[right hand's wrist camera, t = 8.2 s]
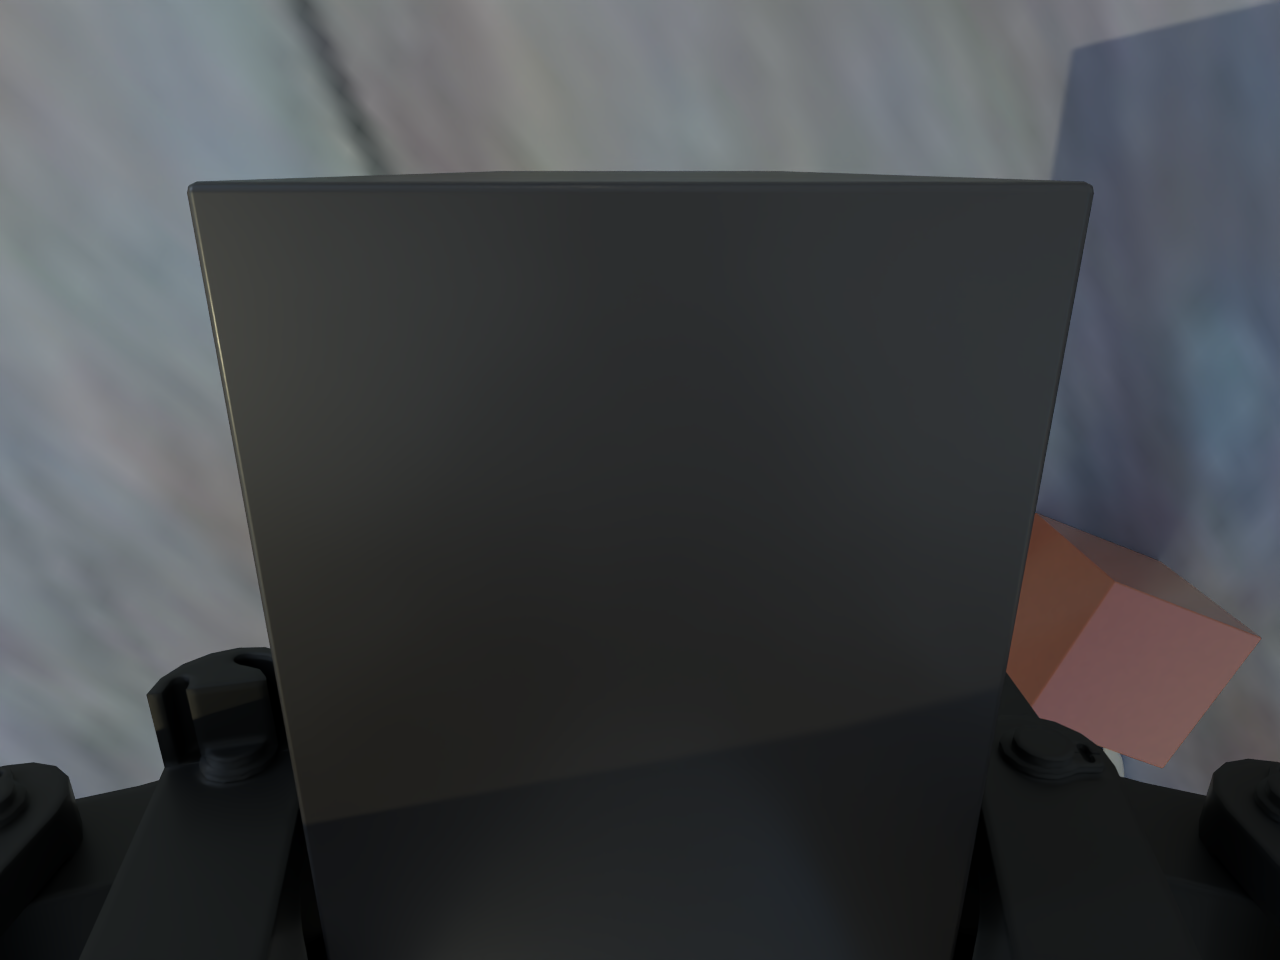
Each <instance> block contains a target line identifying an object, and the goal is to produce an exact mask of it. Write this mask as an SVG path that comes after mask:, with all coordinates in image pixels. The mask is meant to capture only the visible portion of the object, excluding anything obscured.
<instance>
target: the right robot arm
mask: <svg viewBox="0 0 1280 960" xmlns="http://www.w3.org/2000/svg"><path fill="white" fill-rule="evenodd" d="M147 699H148V703H149V707H150V711H151V715H152V719H153V723H154V727H155V731H156V735H157V739H158V743H159V747H160V751H161V755H162V759H163V763H164V767H165V768H164V770H163V773H162V775H161V777H160V779H159V780H158V781H155V782H151V783H148V784H144V785H140V786H136V787H131V788H127V789H122V790H117V791H113V792H108V793H103V794H98V795H94V796H89V797H84V798H79V799H75V797H74V793H73V790H72V787H71V783H70V780H69V777H68V776H67V775H66V774H65V773H64V772H62V771H61V770H60V769H59V768H58V767H56V766H52V765H46V764H40V763H34V762H33V763H24V764H15V765H6V766H1V767H0V960H327V955H326V949H325V944H324V938H323V933H322V927H321V922H320V916H319V911H318V906H317V900H316V895H315V889H314V884H313V878H312V873H311V867H310V862H309V856H308V851H307V845H306V840H305V834H304V829H303V823H302V818H301V813H300V807H299V802H298V796H297V791H296V785H295V780H294V774H293V769H292V763H291V758H290V752H289V747H288V741H287V736H286V730H285V725H284V720H283V714H282V709H281V703H280V698H279V692H278V687H277V681H276V676H275V670H274V665H273V659H272V654H271V649H270V648H266V647H255V648H236V649H231V650H226V651H221V652H216V653H211V654H208V655H206V656H203V657H201V658H198V659H196V660H193V661H190V662H188V663H185V664H183V665H181V666H180V667H178V668H177V669H175V670H173V671H172V672H170V673H169V674H167V675H165V676H164V677H162V678H161V679H160V680H159V681H158V682H157V683H156V684H155V686H154V687H153V688H152V689H151V690H150V691H149V692H148V694H147ZM953 960H1280V763H1279V762H1272V761H1263V760H1254V759H1244V760H1238V761H1232V762H1226V763H1225V764H1223V765H1222V766H1221V767H1220V768H1219V769H1217V770H1216V771H1215V772H1214V773H1213V776H1212V779H1211V783H1210V786H1209V789H1208V792H1207V796H1204V795H1200V794H1195V793H1190V792H1185V791H1181V790H1176V789H1171V788H1166V787H1162V786H1157V785H1152V784H1147V783H1143V782H1139V781H1135V780H1132V779H1128V778H1124V777H1121V776H1119V773H1118V771H1117V769H1116V767H1115V765H1114V764H1113V763H1112V761H1111V760H1110V759H1109V757H1108V756H1107V755H1106V753H1105V752H1104V751H1103V749H1102V748H1100V747H1099V746H1098V745H1096V744H1095V743H1094V742H1092V741H1091V740H1089V739H1088V738H1087V737H1085V736H1084V735H1083V734H1081V733H1079V732H1077V731H1075V730H1072V729H1070V728H1068V727H1066V726H1064V725H1061V724H1059V723H1057V722H1054V721H1050V720H1046V719H1042V718H1039V717H1038V715H1037V714H1036V712H1035V711H1034V710H1033V708H1032V707H1031V706H1030V704H1029V703H1028V701H1027V700H1026V699H1025V697H1024V696H1023V695H1022V693H1021V692H1020V690H1019V689H1018V688H1017V686H1016V685H1015V683H1014V682H1013V681H1012V679H1011V678H1010V677H1009V675H1008V674H1007V672H1006V674H1005V680H1004V685H1003V691H1002V696H1001V701H1000V707H999V712H998V718H997V723H996V729H995V734H994V740H993V745H992V751H991V756H990V761H989V767H988V772H987V778H986V783H985V789H984V794H983V800H982V805H981V811H980V816H979V821H978V827H977V832H976V838H975V843H974V849H973V854H972V860H971V865H970V871H969V876H968V882H967V887H966V892H965V898H964V903H963V909H962V914H961V920H960V925H959V931H958V936H957V942H956V947H955V952H954V958H953Z"/></svg>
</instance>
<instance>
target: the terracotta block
mask: <svg viewBox="0 0 1280 960" xmlns="http://www.w3.org/2000/svg"><path fill="white" fill-rule="evenodd" d="M1260 640H1261V637H1260V636H1258V635H1257V634H1256V633H1254V632H1253V631H1252V630H1250V629H1249V628H1248V627H1247V626H1245V625H1244V624H1243V623H1241V622H1240V621H1239V620H1237V619H1236V618H1235V617H1233V616H1232V615H1231V614H1229V613H1228V612H1227V611H1225V610H1224V609H1223V608H1221V607H1220V606H1219V605H1217V604H1216V603H1215V602H1213V601H1212V600H1211V599H1209V598H1208V597H1207V596H1205V595H1204V594H1203V593H1201V592H1200V591H1199V590H1198V589H1196V588H1195V587H1194V586H1192V585H1191V584H1190V583H1188V582H1187V581H1186V580H1184V579H1183V578H1182V577H1180V576H1179V575H1178V574H1176V573H1175V572H1174V571H1172V570H1171V569H1170V568H1168V567H1167V566H1166V565H1164V564H1163V563H1162V562H1160V561H1158V560H1155V559H1153V558H1150V557H1148V556H1145V555H1143V554H1140V553H1137V552H1135V551H1132V550H1130V549H1127V548H1125V547H1122V546H1120V545H1117V544H1114V543H1112V542H1109V541H1107V540H1104V539H1102V538H1099V537H1097V536H1094V535H1091V534H1089V533H1086V532H1084V531H1081V530H1079V529H1076V528H1074V527H1071V526H1068V525H1066V524H1063V523H1061V522H1058V521H1056V520H1053V519H1051V518H1048V517H1045V516H1043V515H1040V514H1038V513H1035V516H1034V521H1033V527H1032V532H1031V538H1030V543H1029V549H1028V554H1027V560H1026V565H1025V570H1024V576H1023V581H1022V587H1021V592H1020V598H1019V603H1018V609H1017V614H1016V620H1015V625H1014V631H1013V636H1012V641H1011V647H1010V652H1009V658H1008V663H1007V669H1006V672H1007V674H1008V675H1009V677H1010V678H1011V679H1012V681H1013V682H1014V683H1015V685H1016V686H1017V688H1018V689H1019V690H1020V692H1021V693H1022V695H1023V696H1024V697H1025V699H1026V700H1027V701H1028V703H1029V704H1030V706H1031V707H1032V708H1033V710H1034V711H1035V712H1036V714H1037V715H1038V717H1039V718H1042V719H1046V720H1050V721H1054V722H1057V723H1059V724H1061V725H1064V726H1066V727H1068V728H1070V729H1072V730H1075V731H1077V732H1079V733H1081V734H1083V735H1084V736H1085V737H1087V738H1088V739H1089V740H1091V741H1092V742H1094V743H1095V744H1096V745H1098V746H1100V747H1103V748H1106V749H1109V750H1112V751H1114V752H1117V753H1120V754H1123V755H1126V756H1129V757H1131V758H1134V759H1137V760H1140V761H1143V762H1146V763H1148V764H1151V765H1154V766H1157V767H1160V768H1164V766H1165V765H1166V764H1167V762H1168V761H1169V760H1170V758H1171V757H1172V756H1173V754H1174V753H1175V752H1176V750H1177V749H1178V748H1179V746H1180V745H1181V744H1182V743H1183V741H1184V740H1185V739H1186V737H1187V736H1188V735H1189V733H1190V732H1191V731H1192V729H1193V728H1194V727H1195V725H1196V724H1197V723H1198V721H1199V720H1200V719H1201V718H1202V716H1203V715H1204V714H1205V712H1206V711H1207V710H1208V708H1209V707H1210V706H1211V704H1212V703H1213V702H1214V700H1215V699H1216V698H1217V696H1218V695H1219V694H1220V693H1221V691H1222V690H1223V689H1224V687H1225V686H1226V685H1227V683H1228V682H1229V681H1230V679H1231V678H1232V677H1233V675H1234V674H1235V673H1236V671H1237V670H1238V669H1239V668H1240V666H1241V665H1242V664H1243V662H1244V661H1245V660H1246V658H1247V657H1248V656H1249V654H1250V653H1251V652H1252V650H1253V649H1254V648H1255V646H1256V645H1257V644H1258V643H1259V641H1260Z"/></svg>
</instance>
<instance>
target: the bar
mask: <svg viewBox="0 0 1280 960" xmlns="http://www.w3.org/2000/svg"><path fill="white" fill-rule="evenodd" d="M187 194H188V200H189V205H190V211H191V216H192V222H193V227H194V233H195V238H196V244H197V249H198V255H199V260H200V266H201V271H202V276H203V282H204V287H205V293H206V298H207V304H208V309H209V315H210V320H211V326H212V331H213V337H214V342H215V348H216V353H217V359H218V364H219V369H220V375H221V380H222V386H223V391H224V397H225V402H226V408H227V413H228V419H229V424H230V430H231V435H232V441H233V446H234V452H235V457H236V462H237V468H238V473H239V479H240V484H241V490H242V495H243V501H244V506H245V512H246V517H247V523H248V528H249V534H250V539H251V545H252V550H253V555H254V561H255V566H256V572H257V577H258V583H259V588H260V594H261V599H262V605H263V610H264V616H265V621H266V627H267V632H268V637H269V643H270V648H271V654H272V659H273V665H274V670H275V676H276V681H277V687H278V692H279V698H280V703H281V709H282V714H283V720H284V725H285V730H286V736H287V741H288V747H289V752H290V758H291V763H292V769H293V774H294V780H295V785H296V791H297V796H298V802H299V807H300V813H301V818H302V823H303V829H304V834H305V840H306V845H307V851H308V856H309V862H310V867H311V873H312V878H313V884H314V889H315V895H316V900H317V906H318V911H319V916H320V922H321V927H322V933H323V938H324V944H325V949H326V955H327V960H953V958H954V952H955V947H956V942H957V936H958V931H959V925H960V920H961V914H962V909H963V903H964V898H965V892H966V887H967V882H968V876H969V871H970V865H971V860H972V854H973V849H974V843H975V838H976V832H977V827H978V821H979V816H980V811H981V805H982V800H983V794H984V789H985V783H986V778H987V772H988V767H989V761H990V756H991V751H992V745H993V740H994V734H995V729H996V723H997V718H998V712H999V707H1000V701H1001V696H1002V691H1003V685H1004V680H1005V674H1006V669H1007V663H1008V658H1009V652H1010V647H1011V641H1012V636H1013V631H1014V625H1015V620H1016V614H1017V609H1018V603H1019V598H1020V592H1021V587H1022V581H1023V576H1024V570H1025V565H1026V560H1027V554H1028V549H1029V543H1030V538H1031V532H1032V527H1033V521H1034V516H1035V510H1036V505H1037V500H1038V494H1039V489H1040V483H1041V478H1042V472H1043V467H1044V461H1045V456H1046V450H1047V445H1048V440H1049V434H1050V429H1051V423H1052V418H1053V412H1054V407H1055V401H1056V396H1057V390H1058V385H1059V379H1060V374H1061V369H1062V363H1063V358H1064V352H1065V347H1066V341H1067V336H1068V330H1069V325H1070V319H1071V314H1072V309H1073V303H1074V298H1075V292H1076V287H1077V281H1078V276H1079V270H1080V265H1081V259H1082V254H1083V249H1084V243H1085V238H1086V232H1087V227H1088V221H1089V216H1090V210H1091V205H1092V199H1093V194H1094V192H1093V186H1092V185H1090V184H1088V183H1086V182H1080V181H1051V180H1021V179H992V178H962V177H933V176H904V175H874V174H845V173H815V172H786V171H494V172H465V173H435V174H406V175H377V176H347V177H318V178H288V179H259V180H229V181H200V182H195V183H193V184H191V185H189V186H188V192H187Z"/></svg>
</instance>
